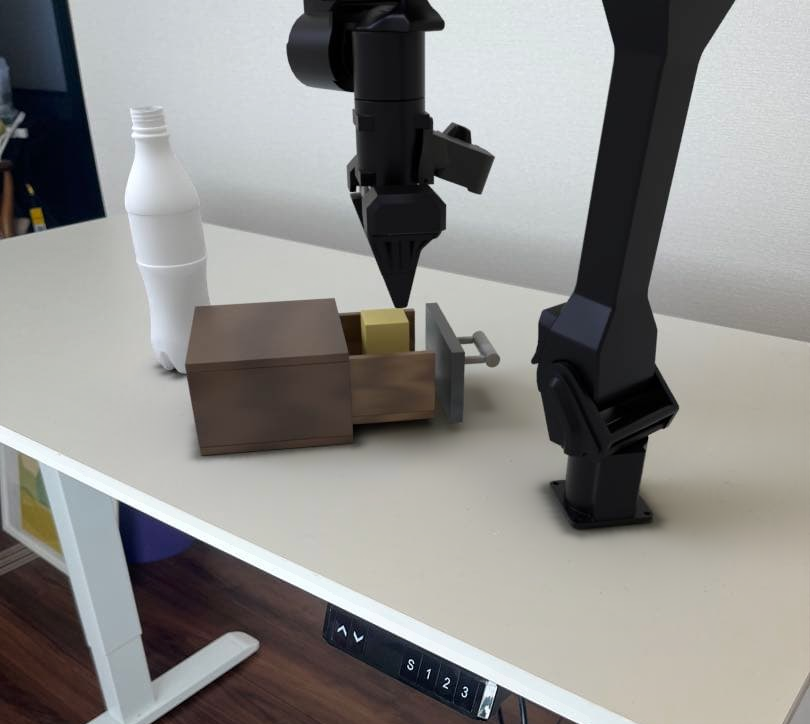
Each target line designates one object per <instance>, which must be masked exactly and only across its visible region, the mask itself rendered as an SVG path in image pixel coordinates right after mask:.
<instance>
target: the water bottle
mask: <svg viewBox="0 0 810 724" xmlns="http://www.w3.org/2000/svg"><path fill="white" fill-rule="evenodd" d="M129 113H130V119H131V123H132V126H131V130H132V133H131V138H132V139H134V143H135V144H134V146H135V147H134V149H135V151H134V158H133V162H132V166H131V168H130V172H129V175H128V179H127V183H126V186H125V191H124V209H125V211H126V212H127V217H128V223H129V228H130V234H131V238H132V239H131V240H132V243H133V249H134V253H135V260H136V264H137V266H138V268H139V271H140V274H141V276H142V279H143V283H144V286H145V291H146V294H147V295H146V296H147V299H148V305H149V313H150V342H151V346H152V350H153V352H154V355H155V357H156V359H157V360H158V362H159V364H160V365H161V366H162V367H163V368H164V369H165V370H167V371H172V370H173V369H176V371H177V372H179V373H180V374H183V375H186V369H185V360H186V354H187V349H188V343H189V338H190V332H191V327H192V321H193V316H194V310H195V307H196V306H211V305H212V304H211V300H210V295H209V287H208V275H207V262H208V253H207V248H206V241H205V233H204V228H203V227H204V226H203V220H202V213H201V207H200V206H201V200H200V195H199V193H198V190H197V188H196V187H195V184H194V183H193V182H192V179H191V178H190V176H189V175H188V173H187V171H186V169H184V167H183V165H182V163H180V160H179V159H178V158H177V156H176V155H175V153H174V151H173V148H172V145H171V142H170V138H169V137H171V132H170V131H169V130H168V128H169V126H168V125H167V124H166V116H165V111H164V106H161V105H144V106H134V107H130V108H129Z"/></svg>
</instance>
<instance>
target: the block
mask: <svg viewBox="0 0 810 724" xmlns="http://www.w3.org/2000/svg"><path fill="white" fill-rule="evenodd" d="M403 309H404V308H395V307H394V308H379V309H377V308H376V309H362V310H360V312H361V332H362V355H369V354H383V353H397V352H409V321H408V319H407V317H406V315H405V312H404V310H403Z"/></svg>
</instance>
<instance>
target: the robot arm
mask: <svg viewBox="0 0 810 724" xmlns="http://www.w3.org/2000/svg"><path fill="white" fill-rule="evenodd" d="M735 2H736V0H601V3H602V6H603V11H604V14H605V18H606V22H607V26H608V29H609V33H610V36H611V41H612V43H613V61H612V67H611V73H610V78H609V84H608V90H607V95H606V102H605V109H604V114H603V120H602V126H601V133H600V138H599V145H598V151H597V157H596V161H595V169H594V173H593V174H594V175H593V179H592V186H591V191H590V196H589V197H590V198H589V203H588V209H587V216H586V221H585V228H584V234H583V239H582V244H581V245H582V247H581V250H580V251H581V252H580V257H579V263H578V270H577V274H576V275H577V276H576V282H575V285H574V288H573V291H572V293H571V294H570V295H569V297H568V299H567V301H565V302H562V303H560V304H556V305H553V306H550V307H548V308H545V309H544V308H543V309H542V311H541V313H540V315H539V319H538V321H537V343H536V344H537V345H536V348H535V352H534V354H533V355H532V358H531V359H530V363H531V365H537V366H536V374H535V376H536V380H535V381H536V387H537V391H538V392H539V393H540V397H541V402H542V407H543V413H544V419H545V423H546V429H547V434H548V439H549V441H550V442H552V443H553V444H555V445H558V446H560V448H561V449H562V450H563V454H565V455H566V456H567V463H566V471H565V477H564V478H565V479H558V480H551V481H549V490H550V492H551V493H552V495H553V497H554V499H555V501H556V502H557V504H558V506H559V508H560V509H561V511H562V512H563V515H564V516H565V517H566V519H567V521H568V523H569V524H570V526H571V527H572V528H575V529H585V528H586V529H587V528H596V527H606V526H607V527H609V526H615V525H616V526H617V525H627V524H637V523H647V522H652V521H653V520H654V516H655V515H654V512H653V510H652V509H651V508H650V506H649V505H648V503H647V502H646V501H645V500H644V498H642V495H640V491H641V490H640V489H641V485H642V479H643V472H644V468H645V462H646V461H645V460H646V455H647V451H648V445H649V436H650V435H652V434H655V433H657V432H658V431H660V430H665V429H667V428H669V427H670V425H671V424H672V422H673V421H674V419H675V417H676V415H677V414H678V412H679V410H680V405H679V403H678V401H677V400H676V399H677V398H676V397H675V396H674V394H673V393H672V391H671V388H670V387H669V385H668V383H667V382H666V380H665V378H664V376H663V374H662V372H661V370H660V369H659V367H658V366H657V363H656V358H657V357H656V355H657V343H658V330H659V329H658V326H657V323H656V320H655V315H654V312H653V310H652V307H651V303H650V300H649V287H650V282H651V277H652V273H653V269H654V264H655V260H656V255H657V251H658V247H659V243H660V239H661V238H660V237H661V233H662V228H663V225H664V220H665V215H666V211H667V206H668V202H669V198H670V193H671V188H672V185H673V180H674V175H675V170H676V167H677V162H678V157H679V153H680V148H681V145H682V139H683V134H684V131H685V127H686V122H687V117H688V113H689V108H690V103H691V100H692V95H693V91H694V85H695V81H696V77H697V72H698V68H699V64H700V61H701V57H702V55H703V54H704V51H705V49H706V48H707V47H708V44H709V43H710V41H712V39H713V37H714V35H715V34H716V32H717V30H718V29H719V27H720V26H721V24H722V23H723V21H724V20H725V18H726V17H727V15H728V14H729V12H730V11H731V9H732V7H733V5H734V4H735ZM302 6H303V13H302V14H301V15H299V16H298V17H297V18H296V19H295V21H294V23H293V24H292V25H291V28H290V31H289V34H288V39H287V43H286V45H285V46H286V47H285V49H286V50H285V51H286V57H287V62H288V65H289V68H290V71H291V72H292V74H293V75H294V77H295V78H296V80H297V81H298V82H300V83H301V84H302V85H304V86H306V87H308V88H313V89H320V90H329V91H337V92H345V93H352V94H353V97H354V98H353V100H354V101H353V103H354V108H352V109H351V111H352V112H351V113H352V124H353V125H354V126H355V127H354V129H355V149H356V154H355V155H354V156H353V157H352V158H351V160H349V162H348V163H347V164H346V180H347V182H346V183H347V188H348V191H349V197H350V200H351V202H352V204H353V207H354V209H355V212H356V215H357V217H358V219H359V222H360V226H361V227H362V229H363V232H364V235H365V237H366V240H367V242H368V244H369V247H370V250H371V252H372V255H373V257H374V260H375V262H376V266H377V268H378V270H379V272H380V275H381V276H382V279H383V281H384V284H385V286H386V289H387V292H388V294H389V296H390V299H391V302H392V304H393V306H394V308H403V309H407V307H408V306H409V301H410V298H411V292H412V289H413V285H414V281H415V276H416V273H417V268H418V264H419V260H420V256H421V253H422V251H423V249H424V248H425V247H427V245H429V244H430V243H431V242H432V241H433V240H437V239H438V238H439V237H440V236H441V234H442V233H443V231H446V230H447V203H445V202H446V201H444V200H443V199H442V197H441V196H440V195H439V194H438V193H437V192H436V191H435V190H434V188H433V187H431V185H435V177H436V178H438V179H440V180H442V181H446V182H449V183H452V184H454V185H458V186H460V187H463V188H466V190H467V191H468V192H469V193H472V194H475V195H480V196H481V195H482V194H483V191H484V189H485V186H486V183H487V181H488V178H489V176H490V172H491V169H492V168H493V164H494V162H495V159H496V156H495V155H494V154H492V152H490V151H488V150H487V149H485V148H483V147H481V146H480V145H478V144H473V141H472V130H471V129H469V128H468V127H467V126H464V125H461V124H458V123H456V122H453V121H451V123H450V124H449V125H447V126H446V128H445V129H444V130H443V131H441V130H435V129H434V118H433V117H432V116H430V115H431V114H430V113H429V112H427V111H426V33H429V32H441V31H443V30H444V29H445V28H446V27H445V26H446V21H445V20H444V18H443V17H442V15H441V14H440V13H439V11H437V10H436V9H435V8H434V7H433V6H432V5H431V3H430V1H429V0H302ZM357 188H358V192H357Z"/></svg>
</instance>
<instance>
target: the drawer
mask: <svg viewBox="0 0 810 724" xmlns="http://www.w3.org/2000/svg"><path fill="white" fill-rule="evenodd" d="M403 310H404V312H405V315H406V317H407V319H408V321H409V352H397V353H383V354H369V355H362V332H361V311H350V312H338V313H339V317H340V321H341V325H342V329H343V333H344V337H345V341H346V344H347V348H348V352H349V368H350V386H351V405H352V423H353V425H363V424H377V423H386V422H387V423H389V422H401V421H403V422H404V421H415V420H427V419H435V417H436V394H437V396H438V399H439V401H440V403H441V405H442V408H443V410H444V412H445V414H446V417H447V419H448V421H449V423H450V424H459V423H463V422H464V405H465V404H464V403H465V402H464V401H465V400H464V399H465V371H466V369H465V368H466V365H476V364H477V365H478V364H485V365H486V366H487V367H489V368H496V367H497V366H499V364H500V363H501V357H500V355H499V353H498V352H497V350H496V349H495V347H494V346H493V344H492V343H491V341H490V340H489V338H488V336H487V335H486V334H485V332H484V331H482V330H477V331H475V332H474V333H472V335H470V336H469V335H468V336H457V335H456V334H455V332H454V330H453V327H452V326H451V325H450V323H449V321H448V319H447V318H446V316H445V314H444V312H443V311H442V308H441V307H440V304H439V303H438V302H427V303H425V335H424V336H425V343H424V344H425V347H424V349H425V350H416V310H415V309H414V308H403ZM470 344H471V345H472V344H473V345H474V347H475V348H476V350H477V352H478V353H479V355H467V356H466V351H465V349H464V348H463V345H470Z"/></svg>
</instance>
